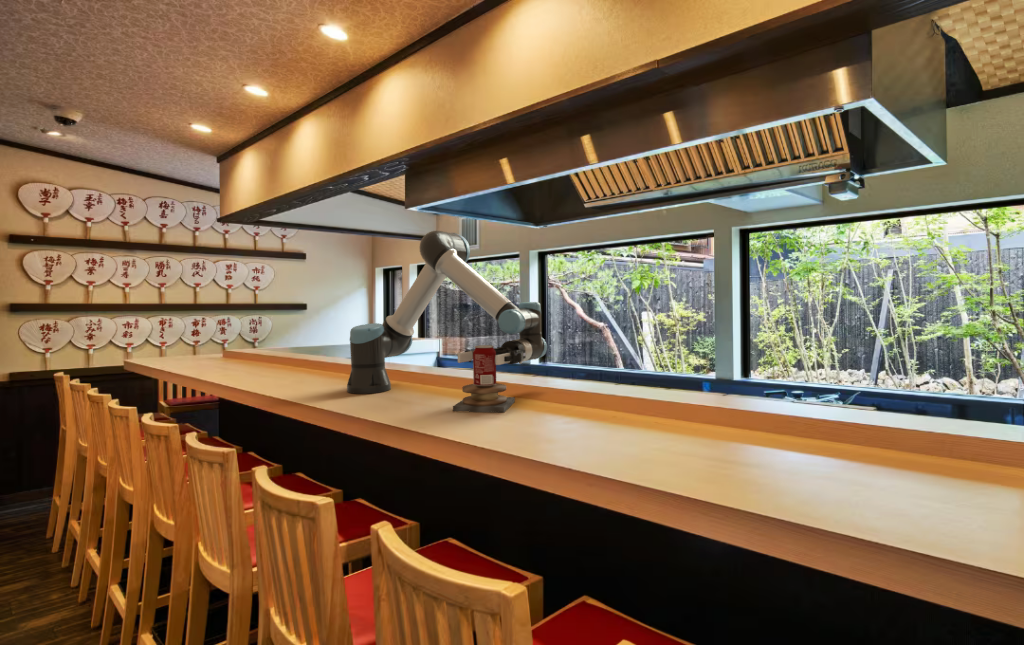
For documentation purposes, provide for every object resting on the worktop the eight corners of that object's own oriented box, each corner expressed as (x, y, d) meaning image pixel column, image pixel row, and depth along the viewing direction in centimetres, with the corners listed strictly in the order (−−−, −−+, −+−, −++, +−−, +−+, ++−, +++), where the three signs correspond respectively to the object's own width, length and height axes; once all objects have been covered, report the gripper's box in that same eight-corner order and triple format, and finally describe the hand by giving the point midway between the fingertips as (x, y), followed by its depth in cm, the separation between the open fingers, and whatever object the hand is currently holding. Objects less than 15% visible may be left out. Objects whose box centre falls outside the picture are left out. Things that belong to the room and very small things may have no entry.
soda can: (495, 388, 163) (495, 347, 162) (472, 388, 163) (471, 347, 162) (496, 384, 170) (496, 344, 169) (474, 384, 170) (473, 345, 169)
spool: (453, 411, 161) (452, 390, 161) (467, 401, 176) (467, 382, 175) (504, 412, 158) (503, 391, 158) (514, 402, 173) (514, 382, 172)
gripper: (550, 365, 175) (514, 374, 157) (484, 361, 188) (444, 369, 170) (549, 340, 174) (513, 347, 156) (483, 339, 188) (443, 345, 170)
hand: (477, 359), depth 163 cm, fingers open, 13 cm apart
